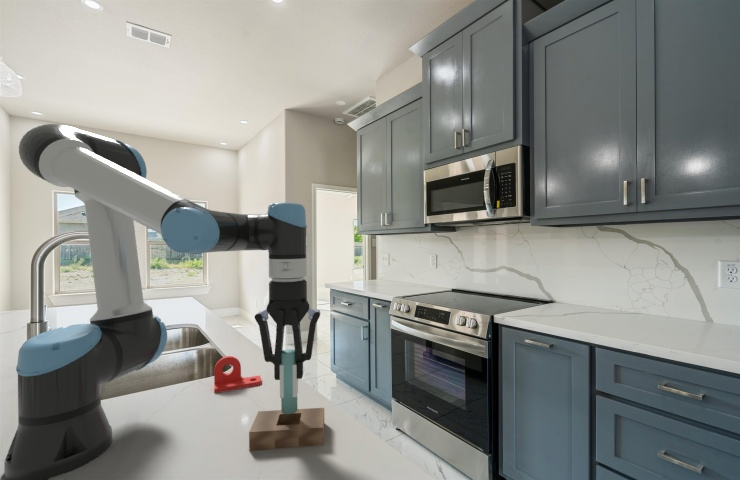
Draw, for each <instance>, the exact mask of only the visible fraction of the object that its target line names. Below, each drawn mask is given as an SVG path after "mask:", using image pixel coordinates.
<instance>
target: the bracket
mask: <svg viewBox="0 0 740 480" xmlns="http://www.w3.org/2000/svg"><path fill="white" fill-rule="evenodd" d="M228 365H230V366H231V367H232V370H231V371H230V372H228V373H225V372H224V371H223V369H224V367H225V366H228ZM213 371H214V372H213V376H214V377H213V379H214V380H213V382H214V388H213V389H214V390H213V392H214V394H217V393H221V392H229V391H233V390H239V389H245V388H249V387H250V388H251V387H255V386H256V387H257V386H260V385H262V378H261V375H253V376H249V377H243V376H242V366H241V362H240V360H239V359H238V358H237V357H235V356H231V355H227V356H223V357H221V358H220V359H219V360H218V361H217V362H216V364H215V366H214V370H213Z"/></svg>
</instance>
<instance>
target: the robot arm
mask: <svg viewBox="0 0 740 480" xmlns="http://www.w3.org/2000/svg"><path fill="white" fill-rule="evenodd" d="M18 154H19V158H20V160H21V161H22V164H23V165H24V166H25V168H26V169H27V170H28V171H29V172H31V173H32V174H34V176H36V177H37V178H40V179H41V180H44V181H45V182H48V183H49V184H51V185H53V186H56V187H60V188H71V189H73V190H74V197H75V198H77V199H78V200H80V201H81V202H83V204H84V206H85V207H84V208H85V217H86V225H87V233H88V241H89V247H90V248H89V249H90V256H91V266H92V273H93V274H92V275H93V282H94V292H95V298H96V299H95V300H96V306H97V307H96V308H97V310H96V312H95V313H94V314H93V315H92V316H91V317H90V318H89V323H79V324H72V325H69V326H64V327H63V326H62V327H57V328H53V329H50V330H46V331H44V332H41V333H38V334H37V335H34V336H32V337H31V338H29V339H27V340H26V341H24V342H23V344H22V345H21V346H20V348H19V350H18V357H17V364H16V367H15V370H16V373H17V410H18V411H17V412H18V413H17V414H18V418H17V419H18V420H17V422H18V424H17V429H16V431H15V433H14V436H13V438H12V440H11V443H10V446H9V448H8V452H7V454H6V456H5V459H4V463H3V464H4V466H3V467H4V468H3V469H4V471H3V472H4V477H5V479H6V480H48V479H51V478H54V477H57V476H58V477H59V476H61V475H64V474H67V473H69V472H72V471H74V470H77V469H79V468H81V467H83V466H85V465H88V464H89V463H91V462H92V461H94V460H96V459H98V458H99V457H101V455H103V454H104V453H105V452H106V451H107V450H108V449H109V448H110V447H111V445H112V443H113V429H112V426H111V425H110V422H109V419H108V417H107V415H106V412H105V411H104V409H103V406H102V385H105V384H107V383H110V382H111V381H114V380H116V379H118V378H121V377H123V376H126V375H128V374H130V373H133V372H135V371H140V370H142V369H144V368H145V367H147V366H148V365H150V364H152V363H154V362H155V361H156V360H157V359H159V358H160V356H161V355H162V354H163V352H164V351H165V350H166V349H165V348H166V345H167V342H168V330H167V327H166V325H165V323H164V322H163V321H162V319H161V318H160V317H158V316H157V315H154V314H153V307H151V306H150V305H148V304H147V303H145V301H144V294H143V288H142V287H143V286H142V279H141V278H142V277H141V271H140V270H141V269H140V263H139V253H138V247H137V239H136V231H135V223H134V222H136V223H139V224H141V226H144V227H147V228H148V229H150V230H152V231H153V232H155V233H157V234H159V235H161V237H162V240H163V241H164V242H165V244H166V245H167V247H168V248H169V249H170V250H171V251H174V252H176V253H181V254H190V255H200V254H204V253H205V254H206V253H218V252H236V251H238V252H239V251H268V277H269V278H270V279H271V280H270V282H268V304H267V305H266V308H265V309H264V310H262V311H258V312H257V313H256V314H255V315H254V319H255V320H254V321H256V323H257V325H258V327H259V332H260V333H259V335H260V340H261V347H262V351H263V357H264V361H265V362H266V363H272V364H273V367H274V369H273V370H274V373H273V374H274V376H273V377H274V381H279V398H280V399H281V398H284V365H281V352H282V351H283V350H284V348H283V347H284V336H285V335H284V334H285V327H286V326H290V327H291V329H292V330H291V331H292V335H293V345H294V350H295V356H296V364H293V365H292V369H293V397H297V398H298V393H299V380H301V379H302V378H303V375H304V362H307V361H310V360H311V359H312V355H313V347H314V341H315V335H316V326H317V322H318V320H319V319H320V316H321V311H320V309H314V308H312V307H310V303H309V302H308V290H307V287H308V285H307V284H308V281H307V280H306V277H307V276H308V275H307V274H308V273H307V269H308V268H307V267H308V264H307V262H308V261H307V228H308V225H307V216H306V208H305V207H304V205H302V204H300V203H295V202H276V203H275V202H273V203H270V204H269V205H268V207H267V211H266V212H267V213H261V214H256V213H255V214H254V213H253V214H249V213H248V214H246V213H245V214H243V213H234V212H224V211H219V210H211V209H207V208H206V207H204V206H202V205H200V204H198V203H195V202H193V201H191V200H190V199H188V198H186V197H183V196H181V195H179V194H177V193H175V192H174V191H172V190H169V189H167V188H165V187H163V186H161V185H159V184H157V183H155V182H153V181H151V180H149V179H147V175H148V174H147V172H148V171H147V164H146V162H145V160H144V157H143V156H142V154H141V153H140V152H139V151H138V150H137V149H135V148H134V147H133V146H132V145H129V144H128V143H125V142H122V140H121V141H120V140H118V139H115V138H109V137H106V136H102V135H99V134H97V133H92V132H89V131H86V130H83V129H79V128H76V127H73V126H71V125H70V126H69V125H66V124H60V123H48V124H42V125H38V126H36V127H32V128H31V129H30V130H28V131H27V132H26V133H25V134H23V136H22V138H21V139H20V141H19V145H18ZM307 313H308V319H309V321H310V322H309V327H308V333H307V340H306V341H307V342H306V348H305V352H303V351H304V350H303V342H302V333H301V321H302V320H303V319H304V317H305V316H306V314H307ZM269 316H270V317H271V318H272V319H273V322H274V323H275V324H276V326H275V327H276V331H275V332H276V334H275V345H274V353H273V347H272V340H271V336H270V329H269V324H268V319H269Z"/></svg>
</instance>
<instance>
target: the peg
mask: <svg viewBox="0 0 740 480" xmlns="http://www.w3.org/2000/svg"><path fill="white" fill-rule="evenodd" d="M293 364H296V356H295V348H289V349H283V350H282V352H281V365H284V398H280V399H281V400H280V401H281V402H280V403H281V404H280V405H281V409H280V410H281V412H282V413H283V414H292V413H295V412H296V411H297V410H298V409H299V408H298V396H297V397H293V369H292V365H293Z"/></svg>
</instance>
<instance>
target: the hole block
mask: <svg viewBox="0 0 740 480" xmlns="http://www.w3.org/2000/svg"><path fill="white" fill-rule="evenodd" d="M324 435H325V407H314V408H313V407H312V408H311V407H310V408H298V410H297V411H296V412H295V413H292V414H283V413H282V412H281V409H277V410H262V411H260V410H259V411H258V412H257V413H256V415H255V418H254V421H253V423H252V424H251V427H250V428H249V432H248V444H249V445H248V447H249V449H248V450H249V451H259V450H260V451H262V450H274V449H275V450H276V449H286V448H287V449H291V448H303V447H316V446H317V447H320V446H324V440H325V439H324Z"/></svg>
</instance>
